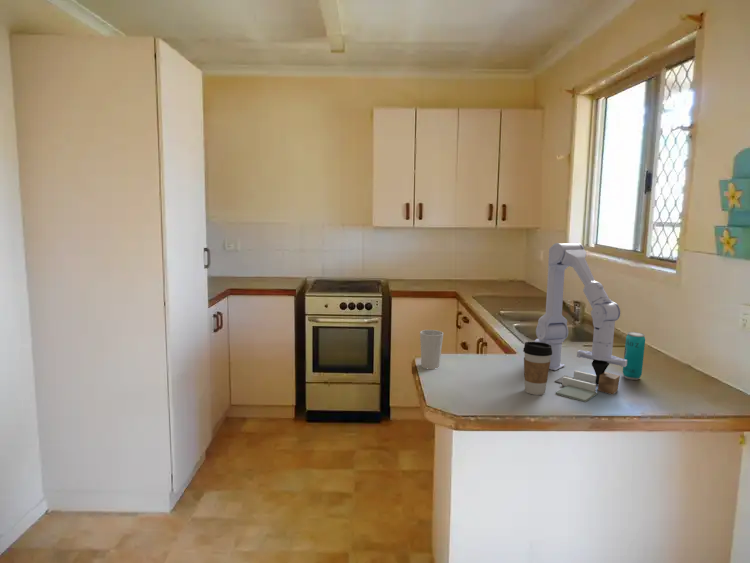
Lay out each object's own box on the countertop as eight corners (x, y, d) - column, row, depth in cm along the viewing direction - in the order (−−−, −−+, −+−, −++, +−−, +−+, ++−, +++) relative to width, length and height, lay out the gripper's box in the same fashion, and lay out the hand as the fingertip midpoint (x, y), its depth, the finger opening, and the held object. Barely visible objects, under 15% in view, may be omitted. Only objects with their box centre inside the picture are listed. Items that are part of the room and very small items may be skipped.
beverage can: (624, 373, 183) (629, 330, 181) (643, 377, 180) (647, 333, 177) (620, 377, 179) (624, 333, 177) (638, 381, 175) (643, 336, 173)
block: (597, 390, 166) (599, 374, 165) (602, 386, 169) (604, 371, 168) (612, 394, 163) (614, 379, 162) (617, 391, 166) (619, 375, 165)
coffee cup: (514, 388, 166) (518, 341, 164) (537, 385, 169) (540, 339, 167) (531, 397, 159) (535, 348, 156) (555, 394, 162) (559, 346, 159)
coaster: (555, 394, 162) (555, 392, 162) (567, 386, 169) (568, 385, 169) (585, 402, 156) (585, 400, 156) (597, 394, 163) (597, 392, 163)
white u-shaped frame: (553, 382, 173) (553, 375, 172) (566, 375, 180) (566, 368, 180) (594, 392, 164) (595, 385, 164) (605, 385, 171) (606, 377, 171)
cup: (446, 368, 184) (447, 334, 182) (425, 371, 181) (426, 336, 179) (435, 362, 191) (436, 329, 190) (414, 364, 188) (416, 330, 187)
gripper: (574, 339, 167) (570, 381, 170) (623, 348, 158) (618, 393, 160) (583, 335, 173) (579, 376, 175) (631, 344, 163) (626, 387, 165)
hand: (599, 383), depth 168 cm, fingers closed, pressing on block
